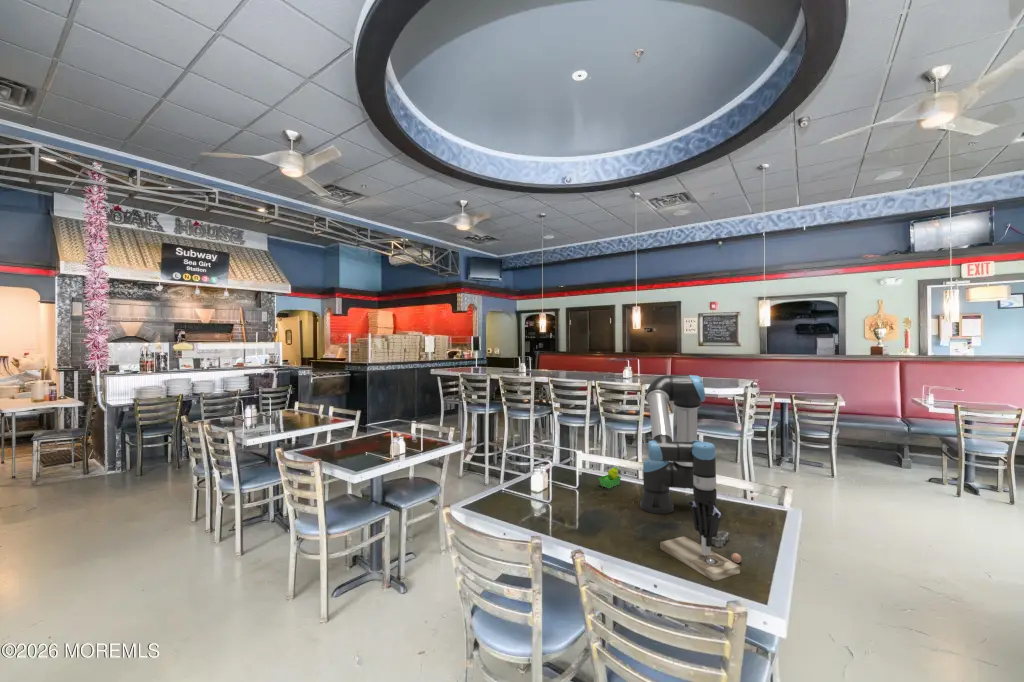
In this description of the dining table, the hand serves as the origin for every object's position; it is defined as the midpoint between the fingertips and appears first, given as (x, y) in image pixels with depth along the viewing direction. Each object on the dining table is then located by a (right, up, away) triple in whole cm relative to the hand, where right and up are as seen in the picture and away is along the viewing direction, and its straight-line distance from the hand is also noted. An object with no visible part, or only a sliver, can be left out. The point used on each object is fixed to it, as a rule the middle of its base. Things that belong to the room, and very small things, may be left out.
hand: (706, 554), depth 151 cm
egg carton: (+12, -4, +18) cm, 23 cm away
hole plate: (-1, -4, +4) cm, 6 cm away
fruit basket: (-14, -5, +85) cm, 86 cm away
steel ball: (+1, -2, -2) cm, 3 cm away
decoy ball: (+11, -2, +1) cm, 12 cm away
